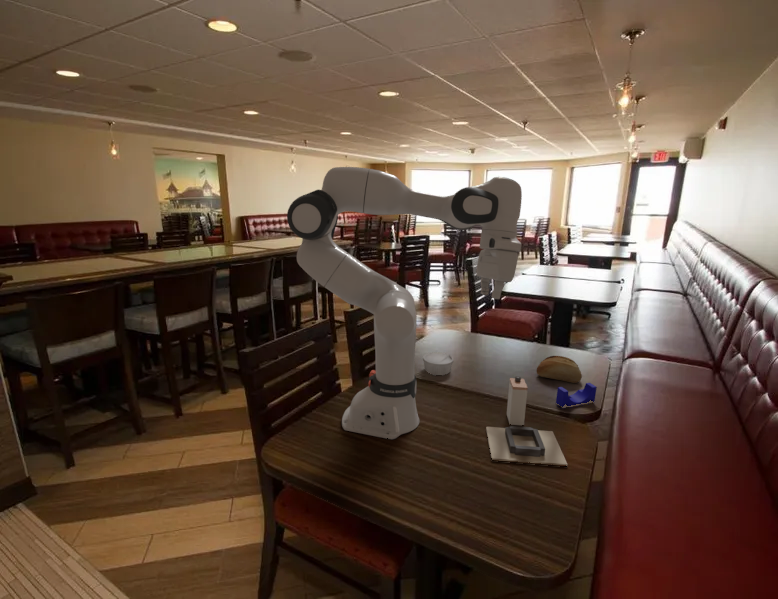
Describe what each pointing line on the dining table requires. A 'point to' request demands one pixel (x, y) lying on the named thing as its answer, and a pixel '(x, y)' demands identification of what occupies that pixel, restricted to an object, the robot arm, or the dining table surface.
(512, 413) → the white and orange block
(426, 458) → the dining table surface
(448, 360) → the ramekin
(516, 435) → the board
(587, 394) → the cable clip
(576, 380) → the bread roll
